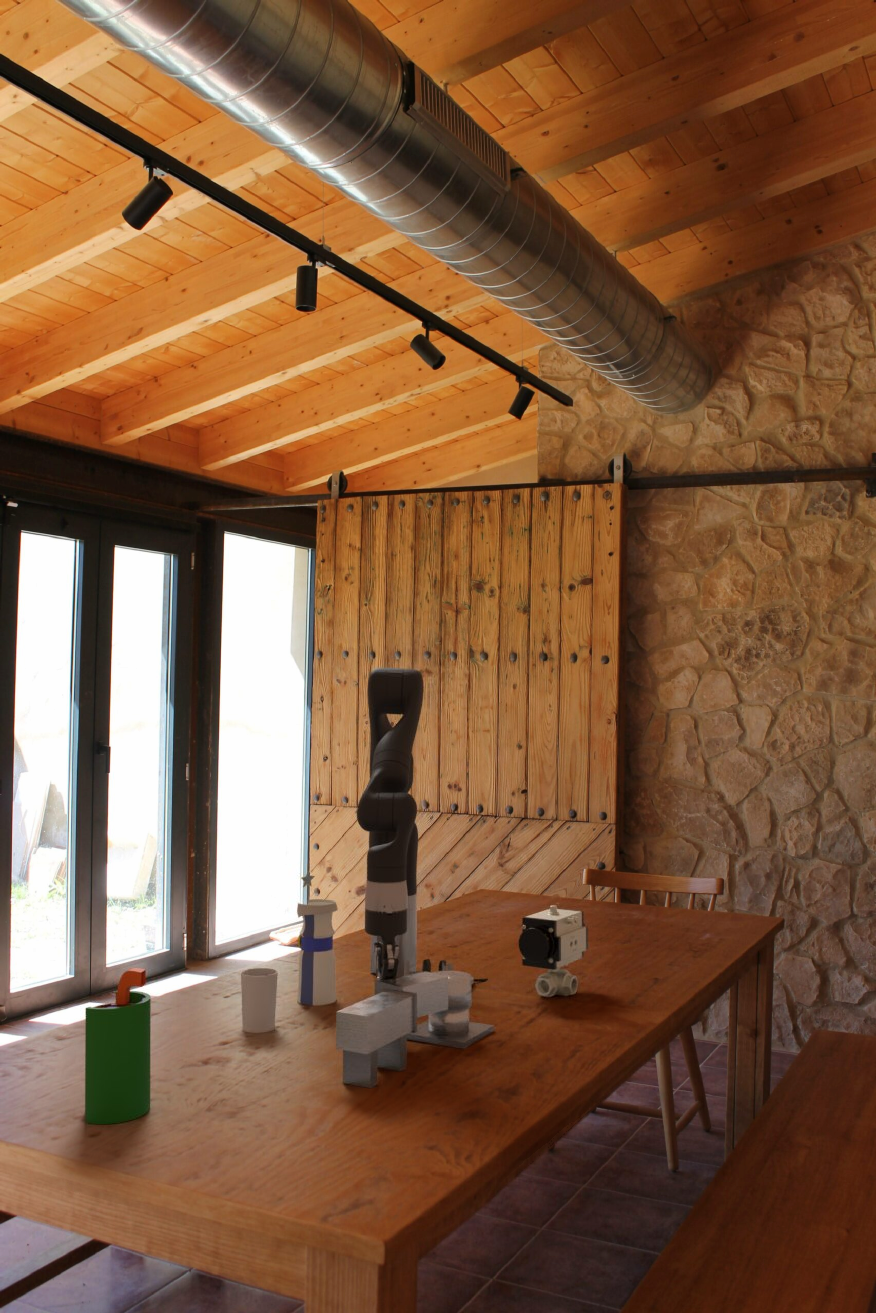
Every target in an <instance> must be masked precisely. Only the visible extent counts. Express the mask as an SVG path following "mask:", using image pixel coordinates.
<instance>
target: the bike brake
mask: <svg viewBox="0 0 876 1313" xmlns="http://www.w3.org/2000/svg"><path fill="white" fill-rule="evenodd" d="M409 963H410V961H405V964H404V976H407V975H412V974H416V973H421V972H425V971H427V972H431V973H432V962H431V959H430V958H427V959H423V961H422V966H421V970H416V971H409ZM438 963H439V964H438V971H453V967H454V966H453V964H454V963H447V960H445V959H442V960H440V961H439V962H438ZM488 980H489V979H488V978H487V977H486V978H474V977H473V976H471V985H473V984H475V983H477V982H479V983H480V982H486V981H488ZM474 982H475V983H474Z"/></svg>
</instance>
